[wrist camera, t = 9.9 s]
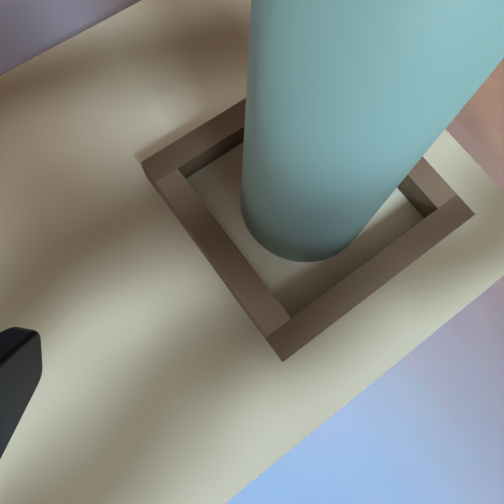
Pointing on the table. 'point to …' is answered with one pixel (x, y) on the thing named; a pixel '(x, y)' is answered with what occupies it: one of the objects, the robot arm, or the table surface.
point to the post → (350, 108)
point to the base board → (195, 269)
